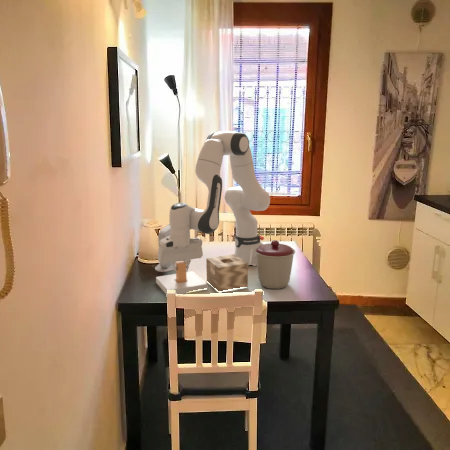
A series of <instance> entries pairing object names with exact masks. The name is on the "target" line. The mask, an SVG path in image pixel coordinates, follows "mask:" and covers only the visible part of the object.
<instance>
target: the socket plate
mask: <svg viewBox="0 0 450 450" xmlns="http://www.w3.org/2000/svg"><path fill="white" fill-rule="evenodd" d="M186 281H187V282H181V283H177V282H176V273H172V274H166V275H160V276H155V283H156V284H157V286H158V287H159V288H160V289H161V290H162V292H164V294H165V295H166V292H167V290H171V289H174V290H176V293H177V294H183V295H185V294H184V293H186V292H189V291H193V290H198V289H204V288H207V289H208V284H207V281H205V280H204V279H202V278H201V277H200V276H199V275H197V273H196V272H194V271H193V270H191V271H186Z"/></svg>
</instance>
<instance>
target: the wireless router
mask: <svg viewBox="0 0 450 450" xmlns="http://www.w3.org/2000/svg"><path fill="white" fill-rule="evenodd" d="M170 230H171V228H170V223H168V224H167V225H166V226H164V227H163V228H162V229H160V231H158V235H157V237H158V248H159V247H160V246H161V245H160V240H161V239H163V238H166V237H168V236H170ZM176 262H178V261H176ZM176 262H175V264H174V265H175V266H176ZM154 269H155V271H156V272H160V273H168V272H172V271H174V269H173V265H172V264H171V262H169V263H163V264H162V263H160V262H159V263H158V264H157V265H156V266H155V267H154Z"/></svg>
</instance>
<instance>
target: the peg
mask: <svg viewBox="0 0 450 450" xmlns="http://www.w3.org/2000/svg"><path fill="white" fill-rule="evenodd" d="M186 263H187V262H186V261H185V260H183V261H178V262H176V266H177V267H178V271H175V274H176V282H177V283H181V282H187V281H186V272H187V269H186Z"/></svg>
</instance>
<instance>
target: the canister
mask: <svg viewBox="0 0 450 450" xmlns="http://www.w3.org/2000/svg"><path fill="white" fill-rule="evenodd" d="M263 244H264V245H261V246H259V247H257V248H256V249H255V253H256V257H257V266H256V267H257V275H258V281H259V283H260V285H261V286H263V287H264V288H266V289H275V290H277V289H278V290H280V289H283V288H285V287H287V286H288V284H289V283H290V279H291V275H292V269H293V262H294V255H295V254H296V250H295V249H294V248H293V247H292V246H290V245H287V244H282V243H280V242H279V241H278V240H277V239H273V240H272V241H271V242H270V243H263Z"/></svg>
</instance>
